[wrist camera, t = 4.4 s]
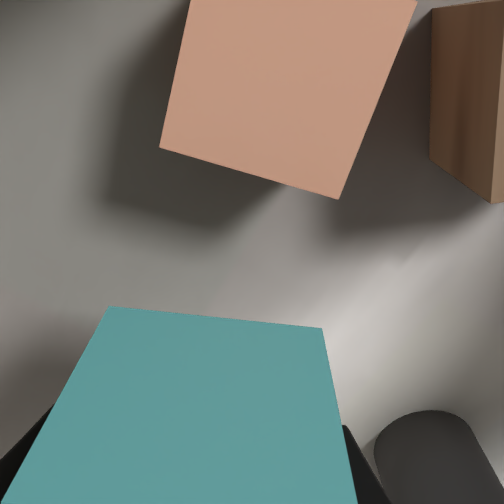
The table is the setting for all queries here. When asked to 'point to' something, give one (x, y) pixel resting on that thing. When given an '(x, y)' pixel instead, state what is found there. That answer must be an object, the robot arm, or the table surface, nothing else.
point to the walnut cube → (469, 95)
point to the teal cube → (192, 418)
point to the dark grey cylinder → (434, 462)
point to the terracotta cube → (282, 85)
